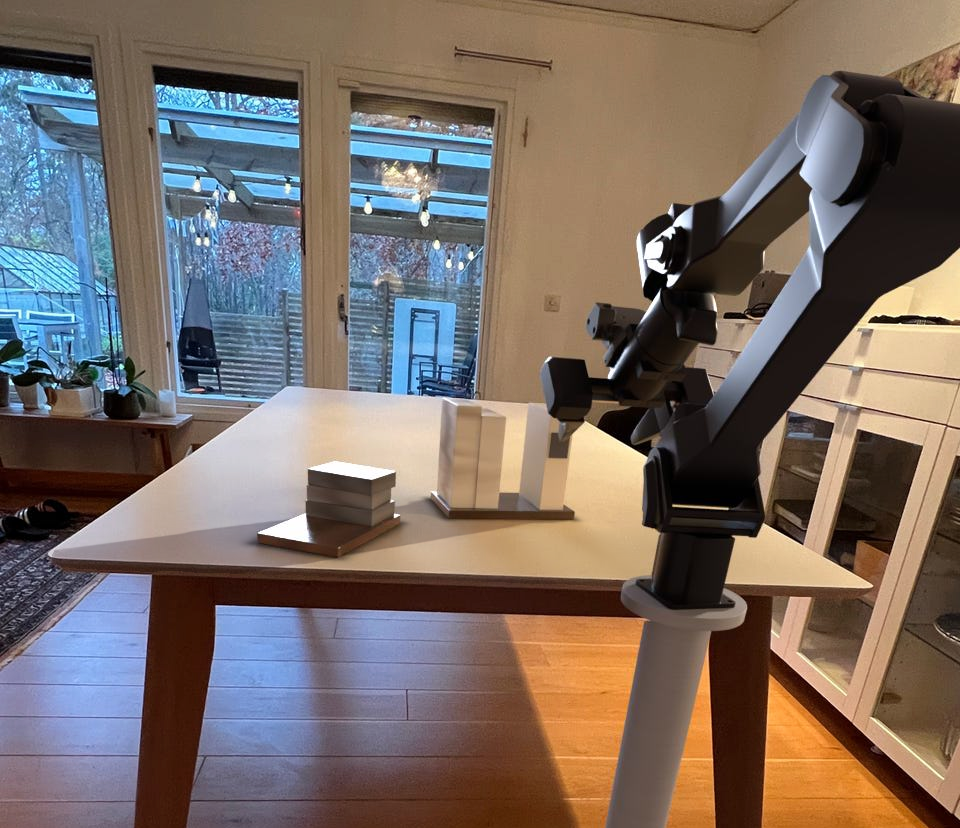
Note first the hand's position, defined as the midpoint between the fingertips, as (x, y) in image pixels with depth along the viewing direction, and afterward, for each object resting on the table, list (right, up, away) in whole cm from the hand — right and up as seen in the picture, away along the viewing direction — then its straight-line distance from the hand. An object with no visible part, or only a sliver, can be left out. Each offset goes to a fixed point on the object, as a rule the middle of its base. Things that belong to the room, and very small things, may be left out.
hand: (597, 439), depth 83 cm
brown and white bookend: (-11, -6, +11) cm, 16 cm away
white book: (-6, -5, +12) cm, 14 cm away
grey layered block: (-29, -11, -5) cm, 32 cm away
